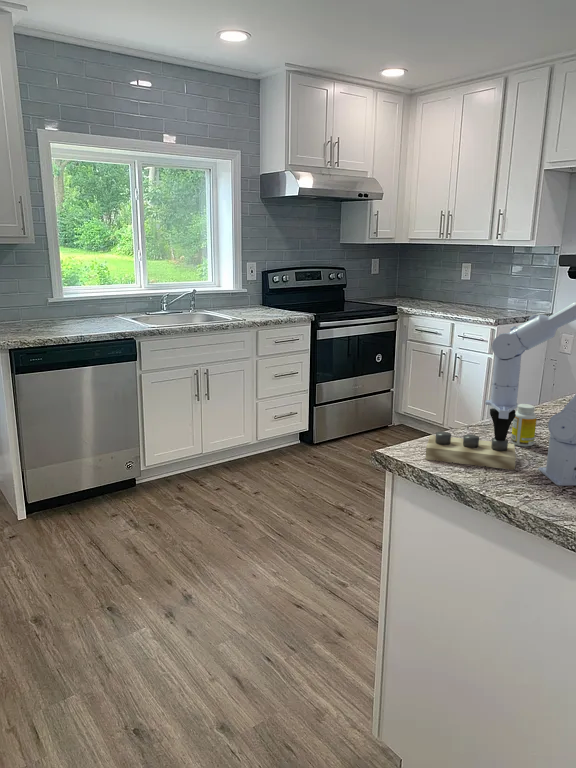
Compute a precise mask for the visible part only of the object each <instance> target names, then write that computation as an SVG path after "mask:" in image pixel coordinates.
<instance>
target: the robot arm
mask: <svg viewBox="0 0 576 768" xmlns="http://www.w3.org/2000/svg"><path fill="white" fill-rule="evenodd" d="M574 321H576V301H574V302H572V303H571V304H569V305H567V306H565V307H563V308H562V309H560V310H559V311H556V312H555V313H553V314H551V315H550V316H549V315H545V314H542V313H541V314H538V315H537V314H532V315H531V316H529V317H528V320H527V321H525V322H523V323H521V324H520V325H517V326H516V325H514V326H511V327H510V328H509V330H510V331H509V332H502V333H500V334H499V335H498V336H496V337H495V338H494V339H493V341H492V342H491V343H492V344H491V350H492V352H493V354H494V363H493V371H492V385H491V395H490V400H489V399H485V403H484V404H485V405H486V406H490V407H491V408H490V409H489V415H490V417H491V420H492V424H493V433H494V437H495V440H499V441H505V439H507V435H508V433H509V430H510V427H511V424H513V420H514V418H515V416H516V414H515V412H516V409H517V408H518V405H519V403H518V393H519V386H520V384H519V383H520V377H521V376H520V373H521V363H522V362H521V361H522V355H523V354H524V353H525V352H526V351H529V350H531V349H533V348H535V347H537V346H539V345H541V344H543V343H545V342H546V341H549V340H551V339H553V338H554V337H555V335H556V332H557V329H559V328H561V327H564V326H565V325H568V324H570V323H572V322H574ZM547 428H548V431H549V439H548V450H547V456H546V457H547V458H546V466H544V467H538V468H537V469H538V471H539V472H540V473H542V475H544V476H546V478H547V479H549V480H550V481H551V482H552V483H553V484H555V485H556V486H558V487H559V486H560V487H561V486H563V487H564V486H576V393H575V395H574V396H573V397H572V398H571V399H570V400H569V401H568V402H567V404H566V405H565V406H564V407H563V409H562V410H561V411H559V412H558V413H555V414H554V415H552V416H551V417H550V419H549V420H548V423H547Z"/></svg>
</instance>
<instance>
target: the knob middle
mask: <svg viewBox="0 0 576 768" xmlns="http://www.w3.org/2000/svg"><path fill="white" fill-rule="evenodd" d="M479 440H480V436H478V435H476V434H464V435H463V446H465V447H468V448H477V447H478V446H479Z"/></svg>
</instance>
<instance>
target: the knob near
mask: <svg viewBox="0 0 576 768" xmlns="http://www.w3.org/2000/svg"><path fill="white" fill-rule="evenodd" d="M491 441H492V445H491V448H492V449H493V450H496V451H506V450H507V448H508V443H509V440H508V439H507V438H506V439H505V441H499V440H495V436H494V437H492V438H491Z"/></svg>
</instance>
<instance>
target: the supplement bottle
mask: <svg viewBox="0 0 576 768" xmlns="http://www.w3.org/2000/svg"><path fill="white" fill-rule="evenodd" d="M515 414H516V416H515V418H514V420H513V421H512V426H511V427H512V428H511V436H510V437H511V438H510V441H511V444H514V446H519V447H532V446H533V445H534V444H535V439H536V438H535V436H536V428H537V418H538V417H537V414H536V413H535V406H534V405H532V404H527V403H518V405H517V408H516V410H515Z"/></svg>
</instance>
